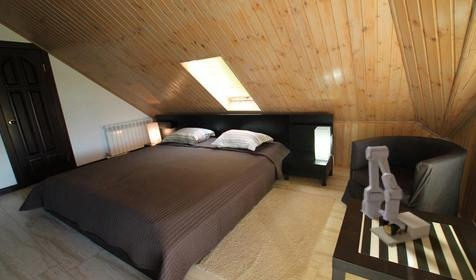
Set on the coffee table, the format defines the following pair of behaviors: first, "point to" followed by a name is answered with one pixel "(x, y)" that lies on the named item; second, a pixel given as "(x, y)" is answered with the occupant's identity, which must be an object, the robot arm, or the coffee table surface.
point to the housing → (414, 231)
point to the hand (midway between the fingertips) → (389, 231)
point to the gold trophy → (388, 229)
